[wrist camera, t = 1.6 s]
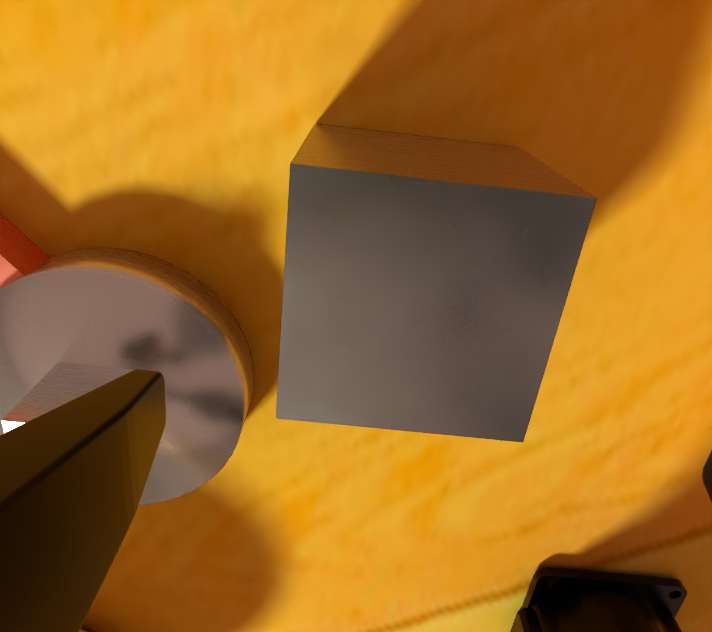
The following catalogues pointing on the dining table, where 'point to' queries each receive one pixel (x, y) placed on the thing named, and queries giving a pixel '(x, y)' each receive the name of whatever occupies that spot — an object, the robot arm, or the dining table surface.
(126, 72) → the dining table surface
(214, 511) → the dining table surface
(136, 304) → the pan with red handle
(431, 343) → the matte grey cube
